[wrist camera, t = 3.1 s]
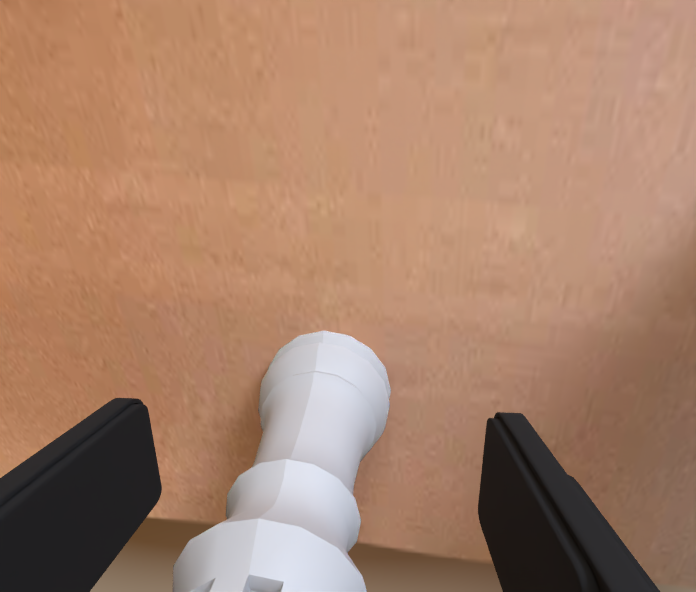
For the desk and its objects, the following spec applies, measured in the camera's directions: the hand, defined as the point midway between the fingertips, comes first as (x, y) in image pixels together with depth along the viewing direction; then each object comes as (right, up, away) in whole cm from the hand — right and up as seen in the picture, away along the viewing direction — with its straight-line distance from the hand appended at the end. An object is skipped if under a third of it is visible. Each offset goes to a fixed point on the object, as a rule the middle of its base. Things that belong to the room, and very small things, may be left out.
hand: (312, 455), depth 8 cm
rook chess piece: (0, +1, +4) cm, 4 cm away
